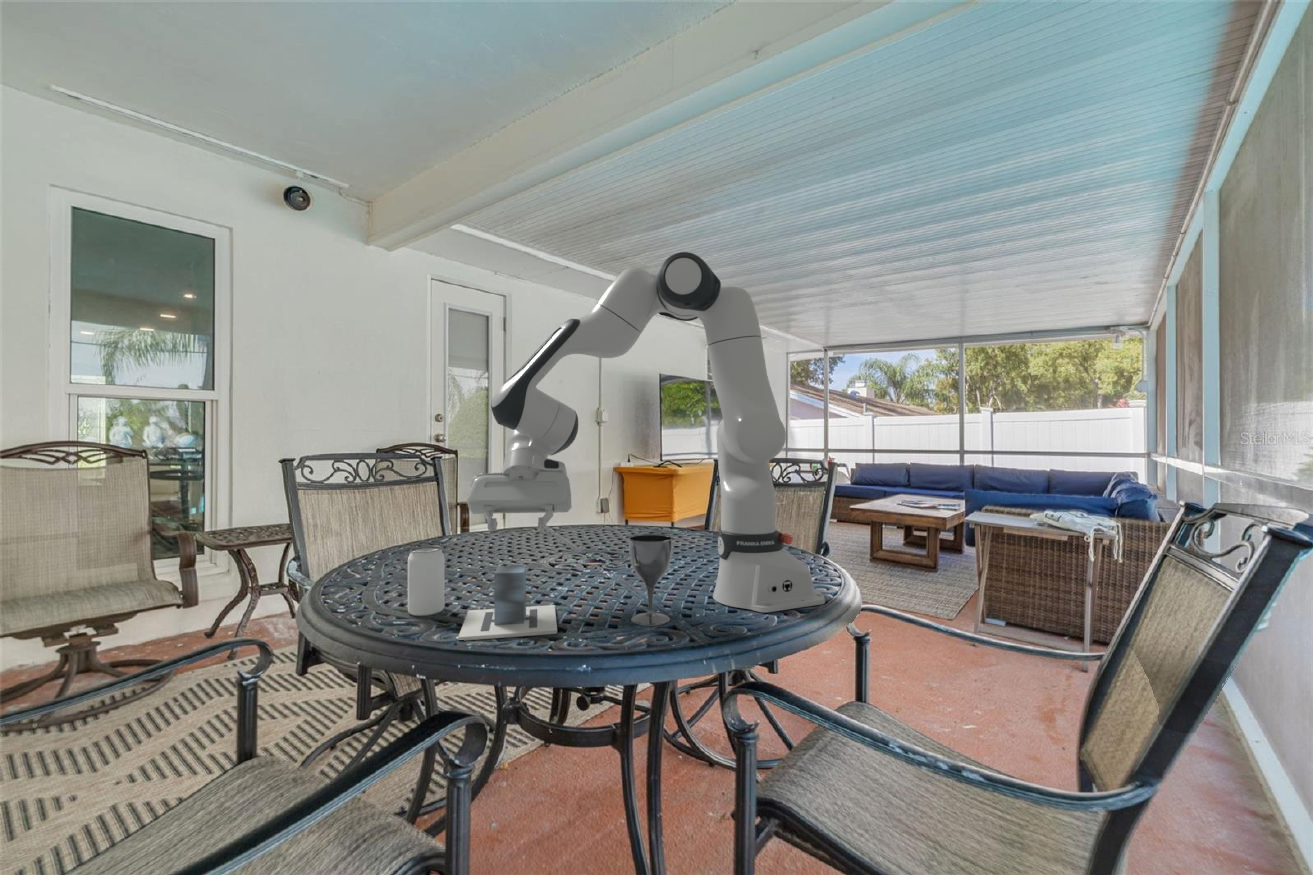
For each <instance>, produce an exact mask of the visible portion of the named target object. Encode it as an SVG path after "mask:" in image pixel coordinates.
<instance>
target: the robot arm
mask: <svg viewBox="0 0 1313 875" xmlns="http://www.w3.org/2000/svg"><path fill="white" fill-rule="evenodd" d="M721 285H722V283H721V280H720V279H719V277H718V276H717V275H716V274H715V273H714V271H713V270H712V269H711V267H710V266H709V265H708V264H707V262H705V261H704V259H702V257H700V256H699V255H697V254H695V253H693V252H688V251H681V252H676V253H673V254H671V255H670V256H669V257H668V258H666V259H664V261H663V263H662V264H661V265H660V267H659V269H658V272H657V274H654V273H650V272H649V271H647V270H645V269H643V268H639V267H633V266H631V267H628V268H625V269H624V270H623V271H621V273H620V274H618V275H617V277H616V278H614V280H613V281H612V282H611V283H610V284H609V285H608V287H607V288H606V289H605V291H604V292H603V293H602V295H601V296H600V298H599V299H598V301H597V302H596V304H595V305H594V306H593V308H592V309H591V310H590V311H589V312H588V313H586V314H585V315H583V316H581V317H580V318H569V319H567V320H566V321H564V322H563V323H562V324H560V326H558V327H557V328H556V329H555V330H554V331H553V332H552V333H551V334H550V336H549V337H548V338H547V339H546V340H545V341H544V342H543V343H542V344H541V345H540V346H539V347H538V349H536V351H535V352H534V353H533V354H532V355H531V356H530V357H529V358H528V359H527V361H525V362H524V364H523V365H522V366H521V367H520V368H519V369H518V370H517V371H516V372H514V374H513V375H512V376H510V378H508V379H507V380H506V381H505V382H504V383H503V384H501V386H500V387H499V388H498V389H497V390H496V392H495V393H494V396H493V397H492V400H491V403H490V408H491V411H492V415H493V418H494V420H495V421H496V423H497V424H498V425H500V426H503V427H505V428H507V429H509V433H508V438H507V442H506V450H507V452H506V454H505V456H504V459H503V468H502V472H490V473H488V472H481V473H479V475H478V474H477V475H475V476H473V477H472V479H471V481H470V482H471V483H470V490H469V492H468V496H467V500H466V503H467V507H468V509H469V511H470V512H471V513H472V514H474V515H475V514H476V515H478V514H479V515H480V514H484V516H485V518H486V520H487V530H488V531H497V530H498V528H497V527H498V520H497V517H494V514H537V513H538V514H543V513H544V515H543V516H541V517H538V518H537V520H538V521H537V529H538V530H547V525H548V523H549V522H550V520H551V519H552V518H553V517H554V513H568V512H569V511H570V510H572V506H573V505H572V493H571V492H572V491H571V483H570V479H569V477H568V474H567V473H568V472H567V469H566V464H565V463H564V462H562V461H560V460H555V459H551V458H548V457H549V456H555V455H556V454H558V453H560V452H562V451H564V450H566V449H568V448H569V447H570V446H571V445H572V444H573V442H574V441H575V439H576V438H577V435H578V431H579V416H578V413H577V412H576V411H577V410H575V409H573V408H572V407H571V406H569V405H567V404H565V403H563V402H561V401H560V400H558V399H555V398H554V397H552V396H551V395H549V394H547V393H545V392H543V391H541V390H540V389H538V388H537V386H538V384H539V383H540V382H541V381H543V379H544V378H545V377H546V376H547V374H548V373H549V372H551V370H552V369H553V368H554V367H555V366H556V365H557V364H558V363H559V361H560V360H562V359H563V358H565V357H567V356H569V355H585V356H589V357H595V358H599V359H613V358H619V357H621V356H624V355H625V354H626V353H628V352H629V351H630V350H631V349H632V348H633V347H634V345H635V344H636V343H637V341H638V340H639V338H640V336H641V335H642V333H643V331H644V330H645V328H646V327H647V325H648V323H649V322H650V321H651V320H652V319H653V317H655V315H657V314H658V315H660V316H663V317H667V318H670V319H674V320H677V321H682V322H690V321H694V320H697V319H699V320H700V322H701V323H702V326H703V329H704V332H705V337H706V345H707V352H708V357H709V358H708V360H709V365H710V371H711V379H712V384H713V387H714V389H715V393H716V396H717V400H718V404H719V407H720V411H721V416H722V419H721V420H720V421H719V424H718V426H717V429H716V449H717V450H716V451H717V463H718V466H717V467H718V474H719V482H720V529H719V530H718V539H717V542H718V543H717V547H718V548H717V550H718V557H719V563H718V571H717V572H718V573H717V578H716V583H715V587H714V591H713V593H712V598H713V600H714V601H716V602H718V603H719V604H721V605H722V604H723V605H725V606H728V607H733V608H739V609H745V610H746V609H747V610H751V611H755V612H758V613H773V612H779V611H786V610H791V609H792V610H793V609H799V608H806V607H812V606H818V605H824V604H825V603H826V599H825V595H824V594H823V592H821V591H819V590H818V589H816V588H815V587H814V582H813V576H812V574H811V571H810V569H809V568H808V567H807V566H806V565H805V564H803V562H802V561H800V560H799V559H798V558H796V556H794V555H793V554H791V553H790V552H789V551H788V550H787V549H786V548H784V545H789V546H790V545H792V543H793V542H794V539H793V538H794V537H793V536H792V535H791V534H789V533H782V532H780V531H779V530H777V529H776V490H775V486H774V483H773V478H772V471H771V464H770V461H771V460H773V459H774V458H776V457H777V456H778V455H779V454H780V453H781V451H782V450H783V448H784V446H785V444H786V438H787V434H786V428H785V426H784V424H783V422H782V420H781V417H780V414H779V410H778V407H777V406H778V405H777V402H776V399H775V397H774V393H773V391H772V387H771V384H770V381H769V377H768V376H769V375H768V371H767V367H766V359H765V353H764V346H763V345H764V344H763V337H762V332H761V327H760V323H759V318H758V314H757V312H756V308H755V305H754V302H753V299H752V296H751V294H750V293H749V292H748V291H747V290H746V289H743V288H742V287H737V286H725V287H722V286H721Z"/></svg>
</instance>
